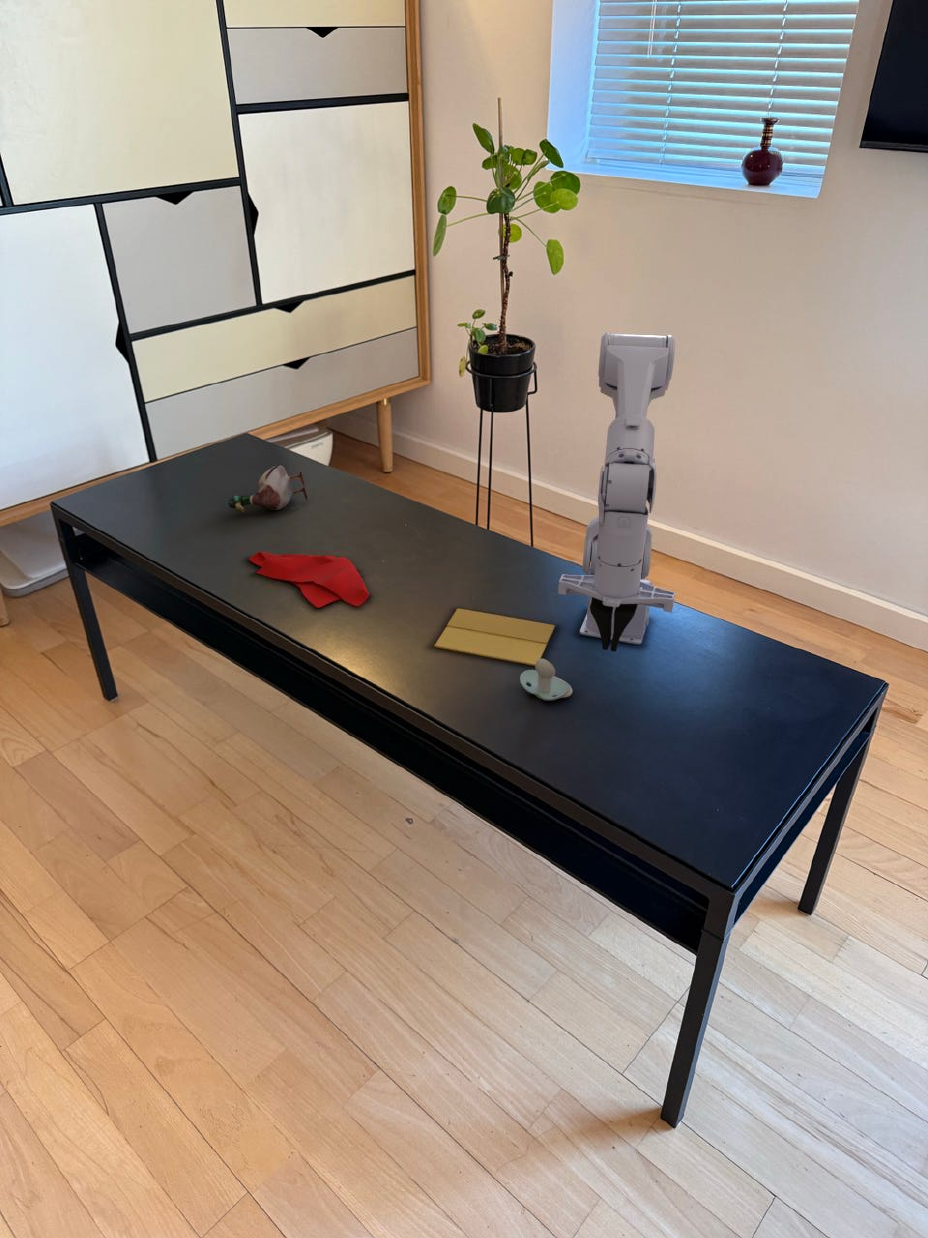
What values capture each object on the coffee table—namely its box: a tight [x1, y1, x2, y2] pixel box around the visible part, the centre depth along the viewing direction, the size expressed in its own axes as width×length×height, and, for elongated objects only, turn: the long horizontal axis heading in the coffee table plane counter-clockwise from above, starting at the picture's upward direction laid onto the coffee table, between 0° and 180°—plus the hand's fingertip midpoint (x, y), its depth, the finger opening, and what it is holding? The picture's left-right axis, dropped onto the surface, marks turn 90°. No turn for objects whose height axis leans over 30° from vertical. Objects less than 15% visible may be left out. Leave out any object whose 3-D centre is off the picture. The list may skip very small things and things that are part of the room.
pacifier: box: [519, 658, 573, 701], centre depth 123 cm, size 7×6×6 cm
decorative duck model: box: [227, 464, 309, 513], centre depth 175 cm, size 15×8×15 cm
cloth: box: [249, 551, 370, 609], centre depth 152 cm, size 26×14×2 cm, turn 45°
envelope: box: [433, 608, 556, 667], centre depth 136 cm, size 16×11×1 cm
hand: (610, 646), depth 117 cm, fingers closed
